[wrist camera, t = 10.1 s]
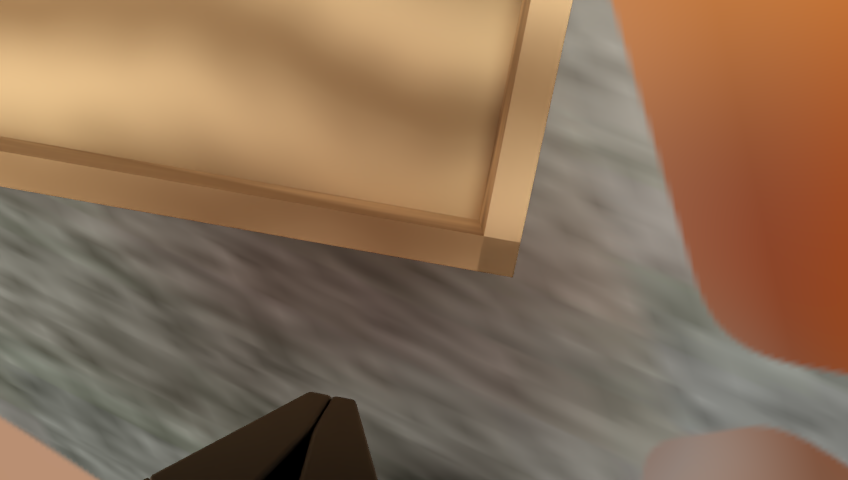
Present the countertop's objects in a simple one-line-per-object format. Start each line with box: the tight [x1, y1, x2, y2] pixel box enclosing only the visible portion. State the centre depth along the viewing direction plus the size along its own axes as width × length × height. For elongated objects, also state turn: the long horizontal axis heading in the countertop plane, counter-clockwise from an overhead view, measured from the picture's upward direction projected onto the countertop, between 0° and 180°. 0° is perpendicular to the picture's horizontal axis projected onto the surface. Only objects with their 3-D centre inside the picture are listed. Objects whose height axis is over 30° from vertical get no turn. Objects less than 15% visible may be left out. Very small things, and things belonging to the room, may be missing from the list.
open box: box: [0, 0, 573, 277], centre depth 17 cm, size 12×22×4 cm, turn 80°
